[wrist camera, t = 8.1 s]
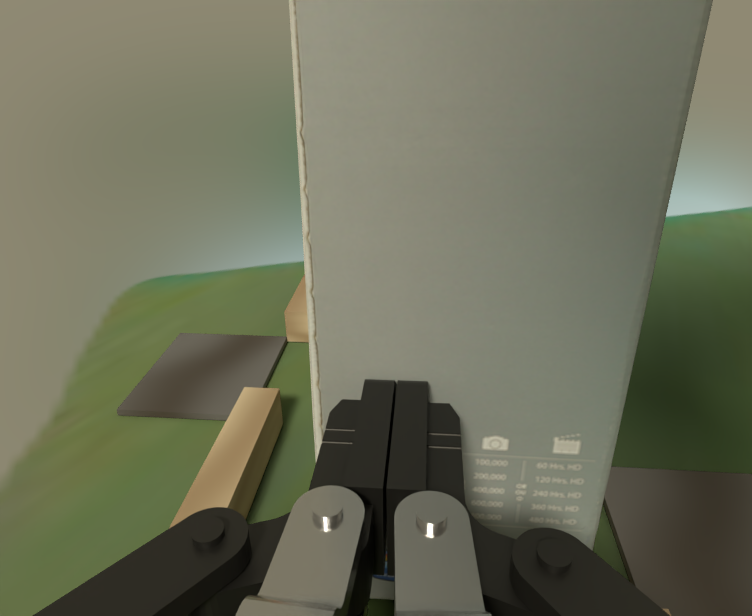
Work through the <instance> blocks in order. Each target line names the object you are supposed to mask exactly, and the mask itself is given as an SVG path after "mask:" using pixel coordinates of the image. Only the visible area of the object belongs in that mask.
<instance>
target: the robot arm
mask: <svg viewBox="0 0 752 616" xmlns="http://www.w3.org/2000/svg"><path fill="white" fill-rule="evenodd" d="M427 393H428V381H405V380H398V381H397V389H396V384H395V380H376V379H365V381H364V385H363V390H362V396H361V400H349V399H342V400H341V401H340V402H339V403H338V404H337V405H336V406H335V407H334V408H333V409H332V410H331V411H330V413H329V417H328V421H327V424H326V430H325V432H324V435H323V439H322V444H321V447H320V450H319V454H318V458H317V462H316V465H315V469H314V473H313V477H312V480H311V484H310V488H309V491H308V492H306V493H305V494H303V495H302V496H301V497H300V498H299V499H298V500H297V501H296V502H295V504H294V506H293V508H292V510H291V512H290V513H288V514H286V515H284V516H281V517H279V518H276V519H272V520H268V521H263V522H258V523H253V524H249V525H247V522H246V520H245V518H244V517H243V516H242V515H241V514H240V513H239V512H237V511H235V510H233V509H230V508H224V507H213V508H207V509H204V510H201V511H198V512H196V513H194V514H192V515H190V516H188V517H187V518H185V519H184V520H182V521H181V522H179V523H177V524H176V525H174V526H173V527H171V528H170V529H168V530H166V531H165V532H163V533H162V534H160V535H159V536H157V537H155V538H154V539H152V540H151V541H149V542H148V543H146V544H144V545H143V546H141V547H140V548H138V549H137V550H135V551H133V552H132V553H130V554H129V555H127V556H126V557H124V558H122V559H121V560H119V561H118V562H116V563H115V564H113V565H111V566H110V567H108V568H107V569H105V570H104V571H102V572H100V573H99V574H97V575H96V576H94V577H93V578H91V579H89V580H88V581H86V582H85V583H83V584H82V585H80V586H79V587H77V588H75V589H74V590H72V591H71V592H69V593H68V594H66V595H64V596H63V597H61V598H60V599H58V600H57V601H55V602H53V603H52V604H50V605H49V606H47V607H46V608H44V609H42V610H41V611H39V612H38V613H36V614H35V615H33V616H367V614H368V601H369V599H370V594H371V585H372V576H373V575H384V570H385V559H386V548H387V575H389V576H394V596H395V598H394V616H670V615H669V614H668V613H666V612H665V611H664V610H663V609H662V608H660V607H659V606H658V605H657V604H656V603H654V602H653V601H652V600H651V599H650V598H648V597H647V596H646V595H645V594H644V593H642V592H641V591H640V590H639V589H638V588H636V587H635V586H634V585H633V584H632V583H630V582H629V581H628V580H627V579H626V578H624V577H623V576H622V575H621V574H620V573H618V572H617V571H616V570H615V569H614V568H612V567H611V566H610V565H609V564H608V563H606V562H605V561H604V560H603V559H602V558H600V557H599V556H598V555H597V554H596V553H594V552H593V551H592V550H591V549H590V548H588V547H587V546H586V545H585V544H584V543H582V542H581V541H580V540H578V539H577V538H576V537H574V536H572V535H571V534H569V533H566V532H564V531H561V530H558V529H554V528H542V527H541V528H534V529H530V530H528V531H526V532H524V533H522V534H521V535H520V536H519V537H518V538H517V539H514V538H511V537H508V536H505V535H502V534H499V533H497V532H494V531H492V530H490V529H488V528H486V527H485V526H483V525H482V524H480V523H479V522H478V521H477V520H476V519H475V518H474V517H473V516H472V515H471V513H470V512H469V510H468V508H467V505H466V502H465V493H464V477H463V462H462V450H461V431H460V418H459V416H458V415H457V413H456V412H455V410H454V409H453V408H452V406H451V405H450V403H427Z"/></svg>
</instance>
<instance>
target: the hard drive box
mask: <svg viewBox="0 0 752 616" xmlns="http://www.w3.org/2000/svg"><path fill="white" fill-rule="evenodd" d="M712 1H713V0H289V8H290V25H291V43H292V60H293V76H294V93H295V109H296V126H297V141H298V142H297V143H298V159H299V176H300V193H301V211H302V230H303V248H304V266H305V283H306V300H307V317H308V334H309V353H310V372H311V390H312V409H313V426H314V441H315V457H316V462H317V458H318V454H319V450H320V447H321V444H322V439H323V435H324V432H325V430H326V424H327V421H328V417H329V413H330V411H331V410H332V409H333V408H334V407H335V406H336V405H337V404H338V403H339V402H340V401H341V400H342V399H349V400H361V396H362V390H363V385H364V381H365V379H376V380H395V384H396V389H397V381H398V380H405V381H428V393H427V403H450V405H451V406H452V408H453V409H454V410H455V412H456V413H457V415H458V416H459V418H460V431H461V450H462V462H463V477H464V493H465V502H466V505H467V508H468V510H469V512H470V513H471V515H472V516H473V517H474V518H475V519H476V520H477V521H478V522H479V523H480V524H482V525H483V526H485V527H486V528H488V529H490V530H492V531H494V532H497V533H499V534H502V535H505V536H508V537H511V538H514V539H517V538H518V537H519V536H520V535H521V534H522V533H524V532H526V531H528V530H530V529H534V528H541V527H542V528H554V529H558V530H561V531H564V532H566V533H569V534H571V535H572V536H574V537H576V538H577V539H578V540H580V541H581V542H582V543H584V544H585V545H586V546H587V547H588V548H590V549H591V550H592V551H593V546H594V541H595V536H596V533H597V529H598V525H599V520H600V515H601V510H602V505H603V501H604V496H605V492H606V488H607V484H608V479H609V475H610V470H611V465H612V460H613V455H614V450H615V445H616V441H617V436H618V432H619V427H620V423H621V418H622V414H623V409H624V404H625V400H626V395H627V391H628V386H629V381H630V377H631V372H632V368H633V363H634V359H635V354H636V350H637V345H638V340H639V336H640V331H641V327H642V322H643V318H644V313H645V309H646V304H647V300H648V295H649V290H650V286H651V281H652V277H653V272H654V267H655V263H656V258H657V254H658V249H659V245H660V240H661V235H662V231H663V226H664V222H665V217H666V212H667V207H668V203H669V198H670V194H671V190H672V185H673V180H674V176H675V171H676V167H677V162H678V157H679V153H680V148H681V143H682V139H683V134H684V130H685V125H686V121H687V116H688V111H689V107H690V102H691V97H692V93H693V89H694V84H695V80H696V75H697V70H698V66H699V61H700V57H701V52H702V47H703V43H704V38H705V33H706V29H707V24H708V20H709V15H710V11H711V6H712ZM370 598H374V599H390V600H394V598H395V596H394V576H389V575H387V548H386V559H385V570H384V575H373V576H372V585H371V594H370Z"/></svg>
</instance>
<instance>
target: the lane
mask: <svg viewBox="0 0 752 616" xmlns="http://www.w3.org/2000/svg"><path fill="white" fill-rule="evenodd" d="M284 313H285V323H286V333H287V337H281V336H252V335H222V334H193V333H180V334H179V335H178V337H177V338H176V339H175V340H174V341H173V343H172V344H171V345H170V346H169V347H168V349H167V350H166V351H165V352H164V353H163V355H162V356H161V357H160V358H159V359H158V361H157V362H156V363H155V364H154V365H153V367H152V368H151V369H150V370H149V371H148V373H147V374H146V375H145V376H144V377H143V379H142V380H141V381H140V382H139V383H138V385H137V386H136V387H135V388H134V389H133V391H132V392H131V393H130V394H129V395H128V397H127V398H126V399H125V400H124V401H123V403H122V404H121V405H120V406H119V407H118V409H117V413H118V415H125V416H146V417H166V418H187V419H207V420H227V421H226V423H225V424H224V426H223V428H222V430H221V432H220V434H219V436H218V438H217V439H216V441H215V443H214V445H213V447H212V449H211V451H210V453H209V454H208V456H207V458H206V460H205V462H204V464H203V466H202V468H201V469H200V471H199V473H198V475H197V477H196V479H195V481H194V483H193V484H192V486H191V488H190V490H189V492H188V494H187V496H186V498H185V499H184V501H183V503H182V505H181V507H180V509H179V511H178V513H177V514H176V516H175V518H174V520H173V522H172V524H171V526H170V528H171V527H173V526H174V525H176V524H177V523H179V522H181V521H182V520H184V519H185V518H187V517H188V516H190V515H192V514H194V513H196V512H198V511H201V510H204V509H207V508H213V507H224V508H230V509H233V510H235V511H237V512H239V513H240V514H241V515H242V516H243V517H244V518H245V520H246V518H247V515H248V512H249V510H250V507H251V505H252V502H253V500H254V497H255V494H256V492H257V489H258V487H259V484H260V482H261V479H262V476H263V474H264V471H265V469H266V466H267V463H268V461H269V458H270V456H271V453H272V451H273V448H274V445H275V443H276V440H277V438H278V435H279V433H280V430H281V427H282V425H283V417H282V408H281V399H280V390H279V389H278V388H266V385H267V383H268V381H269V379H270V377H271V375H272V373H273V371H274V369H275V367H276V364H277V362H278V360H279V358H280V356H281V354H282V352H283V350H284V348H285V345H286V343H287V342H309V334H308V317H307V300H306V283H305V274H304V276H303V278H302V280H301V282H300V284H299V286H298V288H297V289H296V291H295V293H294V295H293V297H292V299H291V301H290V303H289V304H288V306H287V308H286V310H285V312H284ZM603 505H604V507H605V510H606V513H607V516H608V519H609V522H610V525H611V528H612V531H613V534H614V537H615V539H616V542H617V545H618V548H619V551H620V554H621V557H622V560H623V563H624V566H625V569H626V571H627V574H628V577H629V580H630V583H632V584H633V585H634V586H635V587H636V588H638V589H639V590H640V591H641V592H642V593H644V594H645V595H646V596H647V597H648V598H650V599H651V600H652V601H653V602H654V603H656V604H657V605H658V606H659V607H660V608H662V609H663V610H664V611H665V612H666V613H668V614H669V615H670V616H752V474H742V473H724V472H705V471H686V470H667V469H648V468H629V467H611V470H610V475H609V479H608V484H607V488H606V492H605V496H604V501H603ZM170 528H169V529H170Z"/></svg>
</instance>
